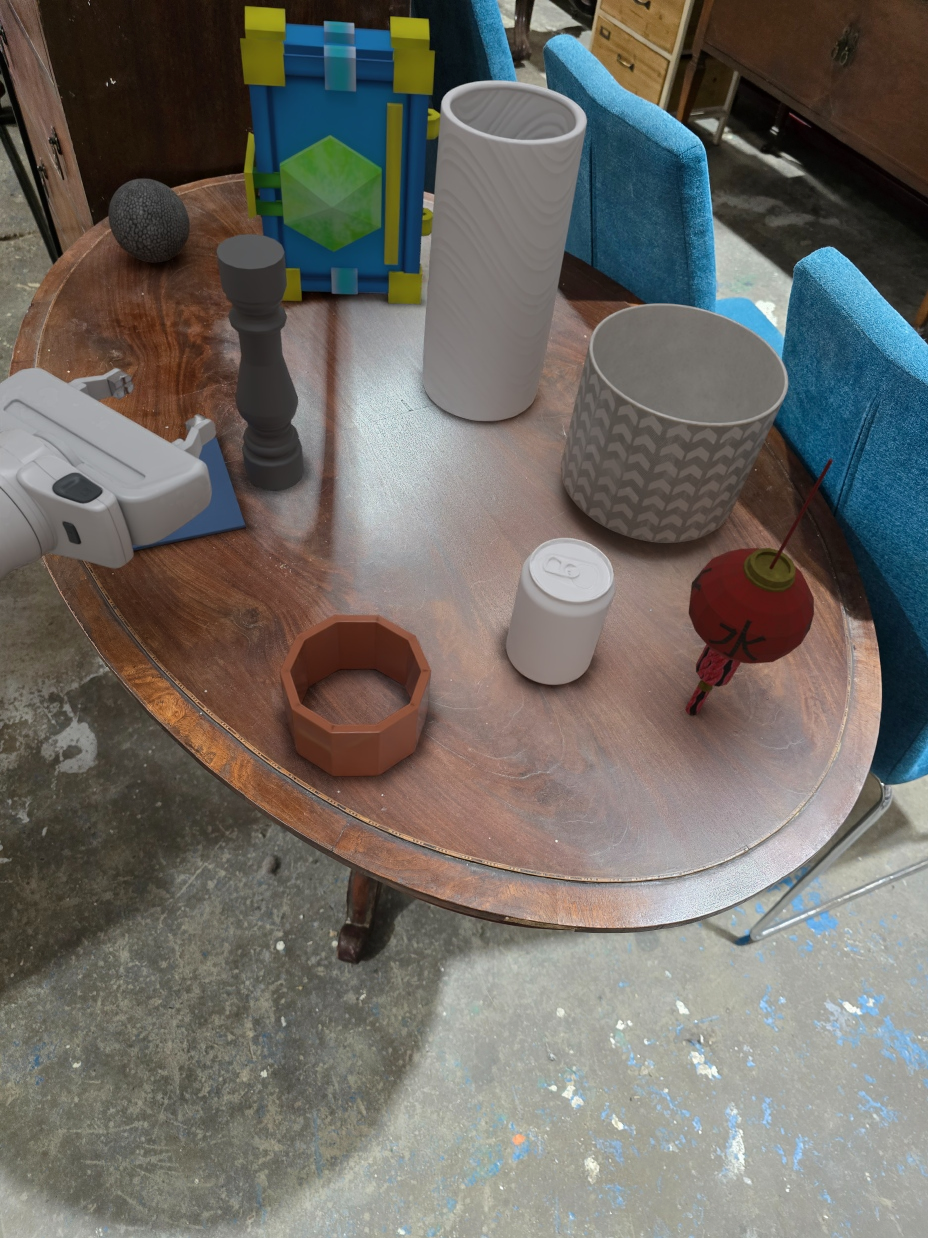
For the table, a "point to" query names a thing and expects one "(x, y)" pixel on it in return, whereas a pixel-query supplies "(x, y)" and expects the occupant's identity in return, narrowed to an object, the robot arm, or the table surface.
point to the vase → (497, 243)
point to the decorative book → (340, 150)
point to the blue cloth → (221, 508)
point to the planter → (669, 420)
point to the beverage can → (559, 610)
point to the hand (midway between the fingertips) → (167, 400)
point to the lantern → (748, 610)
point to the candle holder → (262, 359)
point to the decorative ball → (149, 220)
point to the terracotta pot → (355, 648)
